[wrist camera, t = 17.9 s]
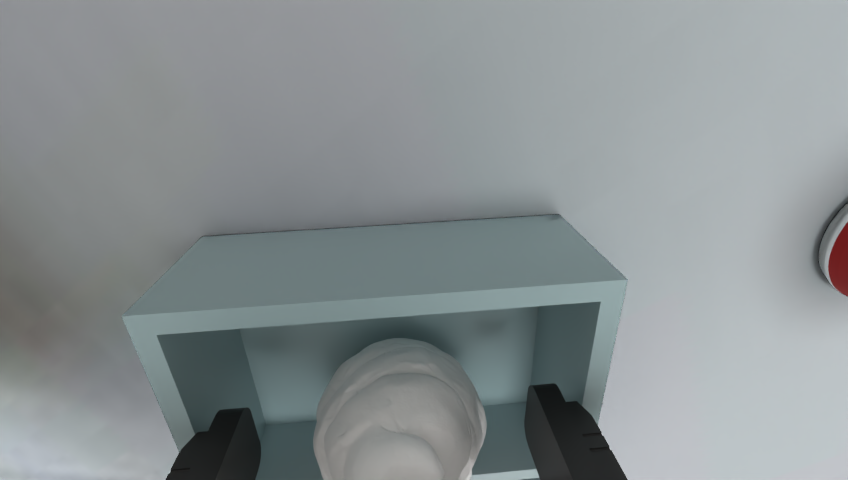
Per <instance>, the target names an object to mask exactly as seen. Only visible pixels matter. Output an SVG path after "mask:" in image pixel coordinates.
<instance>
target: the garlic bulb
mask: <svg viewBox="0 0 848 480" xmlns="http://www.w3.org/2000/svg"><path fill="white" fill-rule="evenodd" d="M316 418H317V423H316V427H315V431H314V437H313V447H314V453H315V456H316V459H317V462H318V465H319V467H320V471H321V474H322V477H323V479H324V480H470V478H471V476H472V468H473V466H474V463H475V462H476V459H477V456H478V454H479V451H480V449H481V447H482V445H483V442H484V439H485V435H486V428H487V422H486V416H485V411H484V408H483V405H482V403H481V401H480V398H479V396H478V393H477V391H476V389H475V387H474V385H473V384H472V382H471V380H470V379H469V377H468V375H467V374H466V372H465V371H464V370H463V368H462V367H461V365H460V363H459V362H458V361H457V360H456V359H455V358H453V357H452V356H450V355H449V354H447V353H445V352H443V351H441V350H440V349H438V348H437V347H435V346H433V345H431V344H429V343H427V342H424V341H419V340H413V339H407V338H392V339H386V340H382V341H379V342H376V343H373V344H371V345H369V346H367V347H366V348H364V349H363V350H362V351H361V352H359V353H358V354H356V355H355V356H353V357H351V358H350V359H348V360H346V361H345V362H344V363H343V364H341V365H340V367H339V368H338V369H337V370H336V372H335V373H334V375H333V377H332V379H331V380H330V382H329V384H328V385H327V387H326V389H325V391H324V393H323V395H322V397H321V399H320V401H319V404H318V407H317V413H316Z"/></svg>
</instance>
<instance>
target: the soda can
mask: <svg viewBox="0 0 848 480" xmlns="http://www.w3.org/2000/svg"><path fill="white" fill-rule="evenodd" d="M819 264H820V267H821V270H822V272H823V273H824V275H825V276H826V277H827V279H828V281H829V283H830V284H831V285H832V286H833V287H834V288H835V289H836V290H837V291H839V292H840V293H842V294H844V295H846V296H848V203H847V204H846V205H845V206H844V207H843V208H842V209H841V210H840V211H839V213H838V214H837V215H836V216H835V218H834V219H833V220H832V222H831V223H830V225H829V226H828V228H827V230H826V232H825V234H824V236H823V238H822V241H821V244H820V249H819Z"/></svg>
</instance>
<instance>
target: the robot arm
mask: <svg viewBox="0 0 848 480" xmlns="http://www.w3.org/2000/svg"><path fill="white" fill-rule="evenodd" d="M524 428H525V435H526V440H527V444H528V447H529V449H530V452H531V455H532V458H533V461H534V464H535V466H536V469H537V472H538V475H539V478H540V480H627V478H626V476H625V474H624V472H623V471H622V469H621V467H620V465H619V463H618V462H617V460H616V458H615V456H614V454H613V453H612V451H611V450H610V449H609V445H608V443H607V442H606V440H605V438H604V436H602V434H601V431H600V429H599V427H598V425H597V424H596V422H595V420H594V418H593V416H592V415H591V414H590V413H589V412H588V411H587V410H586V409H585V408H584V407H583V406H582V405H580V404H579V403H578V402H577V401H570V402H566V401H565V399H564V397H563V395H562V393H561V391H560V389H559V387H558V386H557V385H556V384H555V383H552V384H539V385H530V386H529V387H528V393H527V402H526V411H525V419H524ZM260 460H261V444H260V440H259V437H258V433H257V430H256V426H255V423H254V420H253V416H252V413H251V410H250V409H249V408H248V407H246V408H234V409H222V410H219V411H218V412H217V413H216V415H215V417H214V419H213V421H212V423H211V426H210V428H209V430H208V431H203V432H197V433H196V434H195V435H194V436H193V437H192V438H191V440H190V441H189V442H188V443H187V444H186V445H185V446H184V447H183V448H182V449H181V451H180V453H179V455H178V456H177V458H176V460H175V462H174V464H173V466H172V468H171V473H170V474H168V476H167V478H166V480H255V479H256V476H257V473H258V469H259V466H260Z"/></svg>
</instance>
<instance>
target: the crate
mask: <svg viewBox="0 0 848 480" xmlns="http://www.w3.org/2000/svg"><path fill="white" fill-rule="evenodd" d="M627 281H628V279H627V278H626V277H625V276H623V275H622V274H621V273H620V272H619V271H618V270H617V269H616V268H615V267H614V266H613V265H612V264H611V263H610V262H609V261H608V260H607V259H606V258H605V257H603V256H602V255H601V254H600V253H599V252H598V251H597V250H596V249H595V248H594V247H593V246H592V245H591V244H590V243H589V242H588V241H587V240H586V239H585V238H583V237H582V236H581V235H580V234H579V233H578V232H577V231H576V230H575V229H574V228H573V227H572V226H571V225H570V224H569V223H568V222H567V221H566V220H565V219H563V218H562V217H561V216H560V215H559V214H558V215H542V216H526V217H510V218H494V219H477V220H461V221H445V222H429V223H413V224H397V225H381V226H365V227H349V228H333V229H317V230H301V231H285V232H269V233H252V234H236V235H220V236H204V237H201V238H200V239H199V240H198V241H197V242H196V243H195V244H194V245H193V246H192V247H191V248H190V249H189V250H188V251H187V252H186V253H185V254H184V255H183V256H182V257H181V258H180V259H179V260H178V261H177V262H176V263H175V264H174V265H173V266H172V267H171V268H170V269H169V270H168V271H167V272H166V273H165V274H164V275H163V276H162V277H161V278H160V279H159V280H158V281H157V282H156V283H155V284H154V285H153V286H152V287H151V288H150V289H149V290H148V291H147V292H146V293H145V294H144V295H143V296H142V297H141V298H140V299H139V300H138V301H137V302H136V303H135V304H134V305H133V306H131V307H130V308H129V309H128V310H127V311H126V312H125V313H124V314H123V315H122V319H123V321H124V323H125V326H126V328H127V330H128V333H129V335H130V337H131V340H132V342H133V344H134V347H135V349H136V352H137V354H138V356H139V359H140V361H141V363H142V366H143V368H144V370H145V373H146V375H147V377H148V380H149V382H150V384H151V387H152V389H153V391H154V394H155V396H156V398H157V401H158V403H159V405H160V408H161V410H162V413H163V415H164V417H165V420H166V422H167V424H168V427H169V429H170V431H171V434H172V436H173V438H174V441H175V443H176V445H177V448H178V450H179V452H180V451H181V449H182V448H183V447H184V446H185V445H186V444H187V443H188V442H189V441H190V440H191V438H192V437H193V436H194V435H195V434H196V433H197V432H203V431H208V430H209V428H210V426H211V423H212V421H213V419H214V417H215V415H216V413H217V412H218V411H219V410H222V409H234V408H246V407H248V408H249V409H250V410H251V413H252V416H253V420H254V423H255V426H256V430H257V433H258V437H259V440H260V444H261V460H260V466H259V469H258V473H257V476H256V479H255V480H324V479H323V477H322V474H321V471H320V467H319V465H318V462H317V459H316V456H315V453H314V447H313V437H314V431H315V427H316V423H317V418H316V413H317V407H318V404H319V401H320V399H321V397H322V395H323V393H324V391H325V389H326V387H327V385H328V384H329V382H330V380H331V379H332V377H333V375H334V373H335V372H336V370H337V369H338V368H339V367H340V365H341V364H343V363H344V362H345V361H346V360H348V359H350V358H351V357H353V356H355V355H356V354H358V353H359V352H361V351H362V350H363V349H364V348H366V347H367V346H369V345H371V344H373V343H376V342H379V341H382V340H386V339H392V338H407V339H413V340H419V341H424V342H427V343H429V344H431V345H433V346H435V347H437V348H438V349H440V350H441V351H443V352H445V353H447V354H449V355H450V356H452V357H453V358H455V359H456V360H457V361H458V362H459V363H460V365H461V367H462V368H463V370H464V371H465V372H466V374H467V375H468V377H469V379H470V380H471V382H472V384H473V385H474V387H475V389H476V391H477V393H478V396H479V398H480V401H481V403H482V405H483V408H484V411H485V416H486V422H487V428H486V435H485V439H484V442H483V445H482V447H481V449H480V451H479V454H478V456H477V459H476V462H475V463H474V466H473V468H472V476H471V478H470V480H540V478H539V475H538V472H537V469H536V466H535V464H534V461H533V458H532V455H531V452H530V449H529V447H528V444H527V440H526V435H525V428H524V419H525V411H526V402H527V393H528V387H529V386H530V385H539V384H552V383H555V384H556V385H557V386H558V387H559V389H560V391H561V393H562V395H563V397H564V399H565V401H566V402H570V401H577V402H578V403H579V404H580V405H582V406H583V407H584V408H585V409H586V410H587V411H588V412H589V413H590V414H591V415H592V416H593V418H594V420H595V422H596V424H597V425H598V420H599V415H600V411H601V406H602V401H603V396H604V392H605V387H606V382H607V377H608V372H609V368H610V363H611V358H612V353H613V348H614V344H615V339H616V334H617V329H618V324H619V320H620V315H621V310H622V305H623V300H624V296H625V291H626V286H627Z"/></svg>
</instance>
